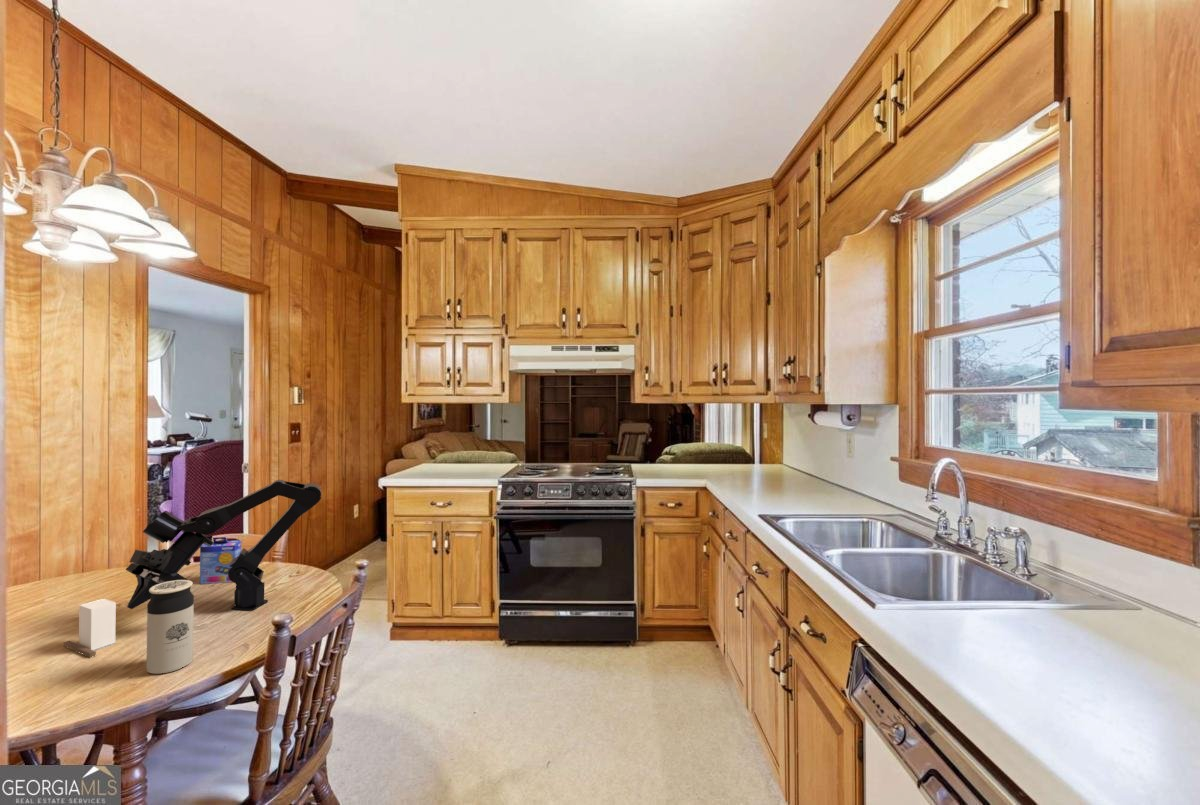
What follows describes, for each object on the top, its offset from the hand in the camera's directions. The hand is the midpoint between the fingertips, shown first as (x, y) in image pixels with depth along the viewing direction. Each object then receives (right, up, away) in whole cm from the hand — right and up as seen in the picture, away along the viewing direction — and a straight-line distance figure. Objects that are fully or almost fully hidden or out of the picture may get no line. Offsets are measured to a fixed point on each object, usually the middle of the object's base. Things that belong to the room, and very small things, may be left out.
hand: (129, 608), depth 129 cm
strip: (-4, -7, -9) cm, 11 cm away
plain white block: (-3, -7, -6) cm, 9 cm away
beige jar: (+22, -8, -14) cm, 26 cm away
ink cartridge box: (-4, -6, +37) cm, 38 cm away
